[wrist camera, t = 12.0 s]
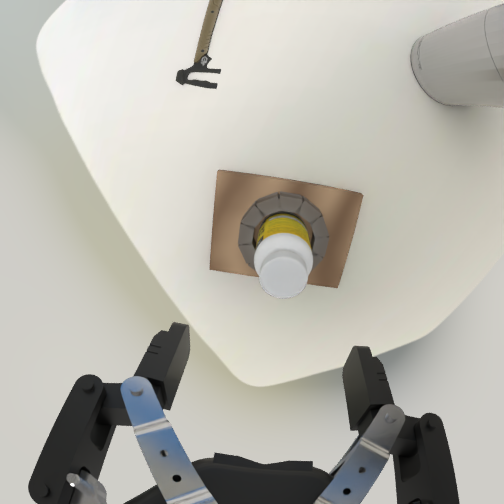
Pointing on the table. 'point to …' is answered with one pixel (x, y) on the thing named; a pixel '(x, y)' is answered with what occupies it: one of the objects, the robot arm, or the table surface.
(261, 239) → the supplement bottle
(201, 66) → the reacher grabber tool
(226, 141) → the table surface
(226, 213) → the brown panel with ring
